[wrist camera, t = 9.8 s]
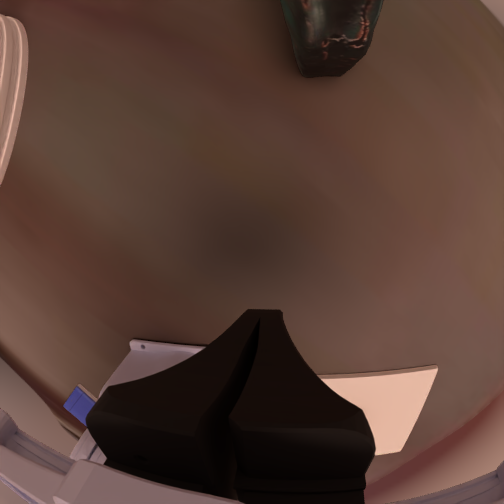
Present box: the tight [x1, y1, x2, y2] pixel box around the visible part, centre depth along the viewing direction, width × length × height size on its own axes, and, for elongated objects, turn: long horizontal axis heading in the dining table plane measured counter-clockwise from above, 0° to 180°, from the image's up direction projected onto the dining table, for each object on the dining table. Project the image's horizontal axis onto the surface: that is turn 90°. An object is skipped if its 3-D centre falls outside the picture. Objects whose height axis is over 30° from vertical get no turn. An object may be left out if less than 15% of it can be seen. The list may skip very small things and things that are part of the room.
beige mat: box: [317, 365, 438, 455], centre depth 25 cm, size 18×14×1 cm
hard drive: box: [63, 383, 98, 425], centre depth 31 cm, size 2×8×12 cm
